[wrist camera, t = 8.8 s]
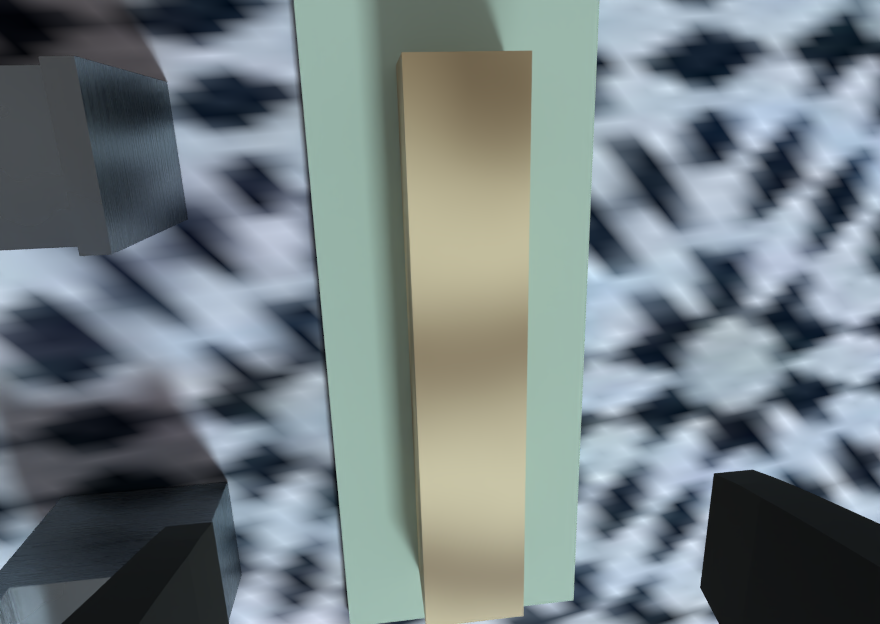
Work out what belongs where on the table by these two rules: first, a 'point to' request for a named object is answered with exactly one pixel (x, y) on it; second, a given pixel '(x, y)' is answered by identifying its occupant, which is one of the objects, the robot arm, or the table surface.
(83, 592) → the cradle stands
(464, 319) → the oak rail
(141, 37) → the table surface
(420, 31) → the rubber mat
